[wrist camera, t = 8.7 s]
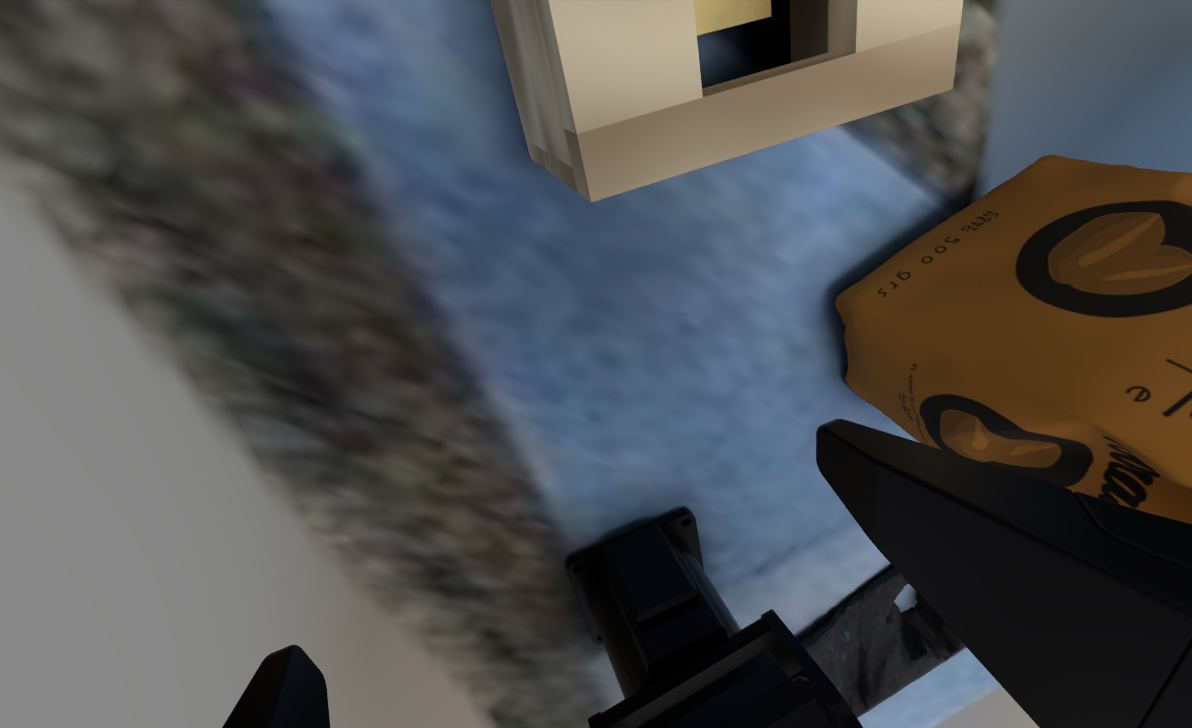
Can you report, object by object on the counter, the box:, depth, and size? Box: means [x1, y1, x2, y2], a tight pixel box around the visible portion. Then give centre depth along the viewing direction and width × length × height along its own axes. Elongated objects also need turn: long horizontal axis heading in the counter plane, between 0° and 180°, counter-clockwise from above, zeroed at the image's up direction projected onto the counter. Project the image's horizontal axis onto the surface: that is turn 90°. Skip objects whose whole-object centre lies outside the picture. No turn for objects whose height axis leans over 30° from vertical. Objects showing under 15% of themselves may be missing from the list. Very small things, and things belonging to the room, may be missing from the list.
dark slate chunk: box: [799, 566, 966, 718], centre depth 39 cm, size 15×22×5 cm
